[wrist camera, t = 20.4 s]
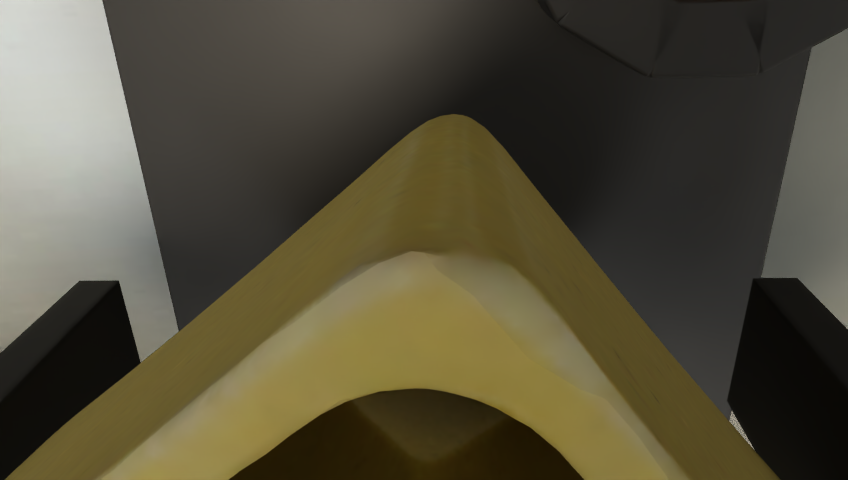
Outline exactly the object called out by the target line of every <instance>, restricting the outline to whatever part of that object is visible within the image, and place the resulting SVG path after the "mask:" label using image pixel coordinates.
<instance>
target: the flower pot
mask: <svg viewBox="0 0 848 480" xmlns="http://www.w3.org/2000/svg"><path fill="white" fill-rule="evenodd" d="M5 480H781V479H780V478H779V477H778V476H777V475H776V474H775V473H774V472H773V471H772V469H771V468H770V467H769V466H768V465H767V464H766V463H765V462H764V460H763V459H762V458H761V457H760V456H759V455H758V454H757V453H756V452H755V450H754V449H753V448H752V447H751V446H750V445H749V444H748V443H747V441H746V440H745V439H744V438H743V437H742V436H741V435H740V433H739V432H738V431H737V430H736V429H735V428H734V426H733V425H732V424H731V423H730V422H729V421H728V419H727V418H726V417H725V416H724V415H723V414H722V412H721V411H720V410H719V409H718V408H717V407H716V406H715V404H714V403H713V402H712V401H711V400H710V399H709V397H708V396H707V395H706V394H705V393H704V392H703V390H702V389H701V388H700V387H699V386H698V385H697V383H696V382H695V381H694V380H693V379H692V378H691V376H690V375H689V374H688V373H687V372H686V371H685V370H684V368H683V367H682V366H681V365H680V364H679V363H678V361H677V360H676V359H675V358H674V357H673V356H672V354H671V353H670V352H669V351H668V350H667V349H666V347H665V346H664V345H663V344H662V342H661V341H660V340H659V339H658V338H657V336H656V335H655V334H654V333H653V332H652V330H651V329H650V328H649V327H648V326H647V324H646V323H645V322H644V321H643V319H642V318H641V317H640V316H639V315H638V313H637V312H636V311H635V310H634V309H633V307H632V306H631V305H630V304H629V302H628V301H627V300H626V299H625V298H624V296H623V295H622V294H621V293H620V291H619V290H618V289H617V288H616V286H615V285H614V284H613V283H612V282H611V280H610V279H609V278H608V277H607V275H606V274H605V273H604V272H603V271H602V269H601V268H600V267H599V266H598V264H597V263H596V262H595V261H594V259H593V258H592V257H591V256H590V254H589V253H588V252H587V251H586V249H585V248H584V247H583V246H582V245H581V243H580V242H579V241H578V240H577V238H576V237H575V236H574V235H573V233H572V232H571V231H570V230H569V228H568V227H567V226H566V225H565V224H564V222H563V221H562V220H561V219H560V217H559V216H558V215H557V214H556V212H555V211H554V210H553V209H552V207H551V206H550V205H549V204H548V203H547V201H546V200H545V199H544V198H543V196H542V195H541V194H540V193H539V191H538V190H537V189H536V188H535V186H534V185H533V184H532V183H531V181H530V180H529V179H528V178H527V176H526V175H525V174H524V172H523V171H522V170H521V169H520V167H519V166H518V165H517V164H516V162H515V161H514V160H513V159H512V157H511V156H510V155H509V154H508V152H507V151H506V150H505V149H504V147H503V146H502V145H501V144H500V143H499V142H498V141H497V140H496V139H495V138H494V137H493V136H492V135H491V133H490V132H489V131H488V130H487V129H486V128H485V127H483V126H482V125H480V124H479V123H477V122H476V121H475V120H473V119H472V118H470V117H467V116H463V115H457V114H451V115H444V116H439V117H437V118H434V119H431V120H429V121H427V122H425V123H424V124H422V125H421V126H419V127H418V128H416V129H415V130H413V131H412V132H410V133H409V134H408V135H407V136H405V137H404V138H403V139H402V140H401V141H399V142H398V143H397V144H396V145H395V146H393V147H392V148H391V149H390V150H389V151H387V152H386V153H385V154H384V155H383V156H382V157H381V158H380V159H379V160H377V161H376V162H375V163H374V164H373V165H372V166H371V167H370V168H368V169H367V170H366V171H365V172H364V173H363V174H362V175H361V176H359V177H358V178H357V179H356V180H355V181H354V182H353V183H352V184H351V185H349V186H348V187H347V188H346V189H345V190H344V191H342V192H341V193H340V194H339V195H338V196H337V197H335V198H334V199H333V200H332V201H331V202H330V203H328V204H327V205H326V206H325V207H324V208H323V209H321V210H320V211H319V212H318V213H317V214H316V215H315V216H313V217H312V218H311V219H310V220H309V221H308V222H307V223H305V224H304V225H303V226H302V227H301V228H300V229H299V230H297V231H296V232H295V233H294V234H293V235H292V236H291V237H289V238H288V239H287V240H286V241H285V242H284V243H283V244H281V245H280V246H279V247H278V248H277V249H276V250H275V251H273V252H272V253H271V254H270V255H269V256H268V257H267V258H265V259H264V260H263V261H262V262H261V263H260V264H258V265H257V266H256V267H255V268H254V269H253V270H251V271H250V272H249V273H248V274H247V275H246V276H244V277H243V278H242V279H241V280H240V281H238V282H237V283H236V284H235V285H234V286H233V287H231V288H230V289H229V290H228V291H227V292H226V293H224V294H223V295H222V296H221V297H220V298H218V299H217V300H216V301H215V302H214V303H213V304H211V305H210V306H209V307H208V308H207V309H205V310H204V311H203V312H202V313H201V314H200V315H198V316H197V317H196V318H195V319H194V320H192V321H191V322H190V323H189V324H188V325H186V326H185V327H184V328H183V329H182V330H180V331H179V332H178V333H177V334H176V335H174V336H173V337H172V338H171V339H169V340H168V341H167V342H166V343H165V344H163V345H162V346H161V347H160V348H159V349H157V350H156V351H155V352H154V353H152V354H151V355H150V356H149V357H148V358H146V359H145V360H144V361H143V362H142V363H140V364H139V365H138V366H137V367H135V368H134V369H133V370H132V371H131V372H129V373H128V374H127V375H126V376H124V377H123V378H122V379H121V380H119V381H118V382H117V383H115V384H114V385H113V386H112V387H110V388H109V389H108V390H107V391H105V392H104V393H103V394H102V395H100V396H99V397H98V398H97V399H95V400H94V401H93V402H92V403H90V404H89V405H88V406H86V407H85V408H84V409H83V410H81V411H80V412H79V413H78V414H76V415H75V416H74V417H73V418H72V419H70V420H69V421H68V422H67V423H66V424H65V425H63V426H62V427H61V428H60V429H59V430H58V431H56V432H55V433H54V434H53V435H52V436H51V437H50V438H49V439H48V440H47V441H45V442H44V443H43V444H42V445H41V446H40V447H39V448H38V449H37V450H36V451H35V452H34V453H33V454H31V455H30V456H29V457H28V458H27V459H26V460H25V461H24V462H23V463H22V464H21V465H20V466H19V467H17V468H16V469H15V470H14V471H13V472H12V473H11V474H10V475H9V476H8V477H7V478H6V479H5Z"/></svg>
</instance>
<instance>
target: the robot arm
mask: <svg viewBox="0 0 848 480" xmlns="http://www.w3.org/2000/svg"><path fill="white" fill-rule="evenodd" d="M140 363H141V362H140V358H139V355H138V351H137V347H136V344H135V340H134V336H133V332H132V329H131V325H130V321H129V317H128V314H127V310H126V306H125V302H124V299H123V295H122V291H121V287H120V284H119V281H79V282H78V283H77V284H76V285H74V286H73V287H72V288H71V289H70V290H69V291H68V292H67V293H66V294H65V295H64V296H62V297H61V298H60V299H59V300H58V301H57V302H56V303H55V304H54V305H53V306H52V307H51V308H49V309H48V310H47V311H46V312H45V313H44V314H43V315H42V316H41V317H40V318H39V319H37V320H36V321H35V322H34V323H33V324H32V325H31V326H30V327H29V328H28V329H27V330H25V331H24V332H23V333H22V334H21V335H20V336H19V337H18V338H17V339H16V340H15V341H13V342H12V343H11V344H10V345H9V346H8V347H7V348H6V349H5V350H4V351H3V352H1V353H0V480H5V479H6V478H7V477H8V476H9V475H10V474H11V473H12V472H13V471H14V470H15V469H16V468H17V467H19V466H20V465H21V464H22V463H23V462H24V461H25V460H26V459H27V458H28V457H29V456H30V455H31V454H33V453H34V452H35V451H36V450H37V449H38V448H39V447H40V446H41V445H42V444H43V443H44V442H45V441H47V440H48V439H49V438H50V437H51V436H52V435H53V434H54V433H55V432H56V431H58V430H59V429H60V428H61V427H62V426H63V425H65V424H66V423H67V422H68V421H69V420H70V419H72V418H73V417H74V416H75V415H76V414H78V413H79V412H80V411H81V410H83V409H84V408H85V407H86V406H88V405H89V404H90V403H92V402H93V401H94V400H95V399H97V398H98V397H99V396H100V395H102V394H103V393H104V392H105V391H107V390H108V389H109V388H110V387H112V386H113V385H114V384H115V383H117V382H118V381H119V380H121V379H122V378H123V377H124V376H126V375H127V374H128V373H129V372H131V371H132V370H133V369H134V368H135V367H137V366H138V365H139V364H140ZM727 402H728V404H729V406H730V408H731V409H732V411H733V413H734V415H735V416H736V418H737V420H738V422H739V423H740V425H741V427H742V429H743V430H744V432H745V434H746V436H747V437H748V439H749V441H750V443H751V444H752V446H753V448H754V450H755V451H756V453H757V454H758V455H759V456H760V457H761V458H762V459H763V460H764V462H765V463H766V464H767V465H768V466H769V467H770V468H771V469H772V471H773V472H774V473H775V474H776V475H777V476H778V477H779V478H780V479H781V480H848V329H847V328H846V327H845V326H844V325H843V324H842V323H841V322H840V321H839V320H838V319H837V318H836V317H835V316H834V315H833V314H832V313H831V312H830V311H829V310H828V309H827V308H826V307H825V306H824V305H823V304H822V303H821V302H820V301H819V300H818V299H817V298H816V297H815V296H814V295H813V294H812V293H811V292H810V291H809V290H808V289H807V288H806V287H805V286H804V285H803V283H802V282H801V281H800V280H799V279H798V278H753V281H752V285H751V290H750V295H749V299H748V304H747V309H746V314H745V318H744V323H743V328H742V332H741V337H740V342H739V346H738V351H737V356H736V360H735V365H734V370H733V374H732V379H731V384H730V388H729V393H728V398H727Z"/></svg>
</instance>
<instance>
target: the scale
mask: <svg viewBox="0 0 848 480" xmlns="http://www.w3.org/2000/svg"><path fill="white" fill-rule="evenodd" d="M103 4H104V9H105V13H106V17H107V22H108V26H109V30H110V35H111V39H112V43H113V48H114V52H115V56H116V61H117V65H118V69H119V74H120V78H121V82H122V87H123V91H124V95H125V100H126V104H127V108H128V113H129V117H130V121H131V126H132V130H133V134H134V139H135V143H136V147H137V152H138V156H139V160H140V165H141V169H142V173H143V178H144V182H145V186H146V191H147V195H148V199H149V204H150V208H151V212H152V217H153V221H154V225H155V230H156V234H157V238H158V243H159V247H160V251H161V256H162V260H163V264H164V269H165V273H166V277H167V282H168V286H169V290H170V295H171V299H172V303H173V307H174V312H175V316H176V320H177V325H178V329H179V331H180V330H182V329H183V328H184V327H185V326H186V325H188V324H189V323H190V322H191V321H192V320H194V319H195V318H196V317H197V316H198V315H200V314H201V313H202V312H203V311H204V310H205V309H207V308H208V307H209V306H210V305H211V304H213V303H214V302H215V301H216V300H217V299H218V298H220V297H221V296H222V295H223V294H224V293H226V292H227V291H228V290H229V289H230V288H231V287H233V286H234V285H235V284H236V283H237V282H238V281H240V280H241V279H242V278H243V277H244V276H246V275H247V274H248V273H249V272H250V271H251V270H253V269H254V268H255V267H256V266H257V265H258V264H260V263H261V262H262V261H263V260H264V259H265V258H267V257H268V256H269V255H270V254H271V253H272V252H273V251H275V250H276V249H277V248H278V247H279V246H280V245H281V244H283V243H284V242H285V241H286V240H287V239H288V238H289V237H291V236H292V235H293V234H294V233H295V232H296V231H297V230H299V229H300V228H301V227H302V226H303V225H304V224H305V223H307V222H308V221H309V220H310V219H311V218H312V217H313V216H315V215H316V214H317V213H318V212H319V211H320V210H321V209H323V208H324V207H325V206H326V205H327V204H328V203H330V202H331V201H332V200H333V199H334V198H335V197H337V196H338V195H339V194H340V193H341V192H342V191H344V190H345V189H346V188H347V187H348V186H349V185H351V184H352V183H353V182H354V181H355V180H356V179H357V178H358V177H359V176H361V175H362V174H363V173H364V172H365V171H366V170H367V169H368V168H370V167H371V166H372V165H373V164H374V163H375V162H376V161H377V160H379V159H380V158H381V157H382V156H383V155H384V154H385V153H386V152H387V151H389V150H390V149H391V148H392V147H393V146H395V145H396V144H397V143H398V142H399V141H401V140H402V139H403V138H404V137H405V136H407V135H408V134H409V133H410V132H412V131H413V130H415V129H416V128H418V127H419V126H421V125H422V124H424V123H425V122H427V121H429V120H431V119H434V118H437V117H439V116H444V115H451V114H457V115H463V116H467V117H470V118H472V119H473V120H475V121H476V122H477V123H479V124H480V125H482V126H483V127H485V128H486V129H487V130H488V131H489V132H490V133H491V135H492V136H493V137H494V138H495V139H496V140H497V141H498V142H499V143H500V144H501V145H502V146H503V147H504V149H505V150H506V151H507V152H508V154H509V155H510V156H511V157H512V159H513V160H514V161H515V162H516V164H517V165H518V166H519V167H520V169H521V170H522V171H523V172H524V174H525V175H526V176H527V178H528V179H529V180H530V181H531V183H532V184H533V185H534V186H535V188H536V189H537V190H538V191H539V193H540V194H541V195H542V196H543V198H544V199H545V200H546V201H547V203H548V204H549V205H550V206H551V207H552V209H553V210H554V211H555V212H556V214H557V215H558V216H559V217H560V219H561V220H562V221H563V222H564V224H565V225H566V226H567V227H568V228H569V230H570V231H571V232H572V233H573V235H574V236H575V237H576V238H577V240H578V241H579V242H580V243H581V245H582V246H583V247H584V248H585V249H586V251H587V252H588V253H589V254H590V256H591V257H592V258H593V259H594V261H595V262H596V263H597V264H598V266H599V267H600V268H601V269H602V271H603V272H604V273H605V274H606V275H607V277H608V278H609V279H610V280H611V282H612V283H613V284H614V285H615V286H616V288H617V289H618V290H619V291H620V293H621V294H622V295H623V296H624V298H625V299H626V300H627V301H628V302H629V304H630V305H631V306H632V307H633V309H634V310H635V311H636V312H637V313H638V315H639V316H640V317H641V318H642V319H643V321H644V322H645V323H646V324H647V326H648V327H649V328H650V329H651V330H652V332H653V333H654V334H655V335H656V336H657V338H658V339H659V340H660V341H661V342H662V344H663V345H664V346H665V347H666V349H667V350H668V351H669V352H670V353H671V354H672V356H673V357H674V358H675V359H676V360H677V361H678V363H679V364H680V365H681V366H682V367H683V368H684V370H685V371H686V372H687V373H688V374H689V375H690V376H691V378H692V379H693V380H694V381H695V382H696V383H697V385H698V386H699V387H700V388H701V389H702V390H703V392H704V393H705V394H706V395H707V396H708V397H709V399H710V400H711V401H712V402H713V403H714V404H715V406H716V407H717V408H718V409H719V410H720V411H721V412H722V414H723V415H724V416H725V417H726V418H727V419H728V421H729V420H730V415H731V411H732V409H731V408H730V406H729V404H728V402H727V398H728V393H729V388H730V384H731V379H732V374H733V370H734V365H735V360H736V356H737V351H738V346H739V342H740V337H741V332H742V328H743V323H744V318H745V314H746V309H747V304H748V299H749V295H750V290H751V285H752V281H753V278H761V274H762V270H763V265H764V261H765V256H766V252H767V247H768V243H769V238H770V233H771V229H772V224H773V220H774V215H775V211H776V206H777V202H778V197H779V193H780V188H781V183H782V179H783V174H784V170H785V165H786V161H787V156H788V152H789V147H790V143H791V138H792V133H793V129H794V124H795V120H796V115H797V111H798V106H799V102H800V97H801V93H802V88H803V83H804V79H805V74H806V70H807V65H808V61H809V56H810V52H811V47H813V46H815V45H817V44H819V43H821V42H823V41H825V40H826V39H828V38H830V37H832V36H834V35H836V34H838V33H840V32H842V31H843V30H845V29H847V28H848V0H103Z"/></svg>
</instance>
